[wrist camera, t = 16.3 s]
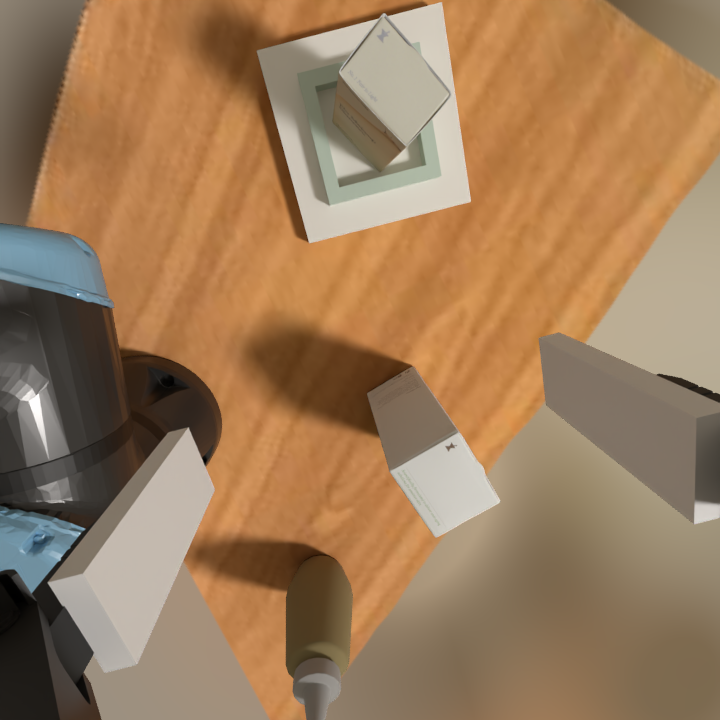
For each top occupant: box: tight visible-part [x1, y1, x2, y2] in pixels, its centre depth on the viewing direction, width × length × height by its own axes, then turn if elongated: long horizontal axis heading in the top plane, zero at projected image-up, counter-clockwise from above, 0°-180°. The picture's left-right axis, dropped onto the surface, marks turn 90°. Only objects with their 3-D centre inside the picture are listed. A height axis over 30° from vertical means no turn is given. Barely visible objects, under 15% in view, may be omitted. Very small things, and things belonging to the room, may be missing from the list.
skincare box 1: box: [332, 13, 451, 172], centre depth 31 cm, size 6×4×12 cm
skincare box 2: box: [367, 366, 500, 537], centre depth 39 cm, size 8×7×16 cm
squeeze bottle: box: [286, 555, 353, 720], centre depth 44 cm, size 8×8×18 cm
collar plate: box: [257, 2, 471, 243], centre depth 36 cm, size 16×16×3 cm
